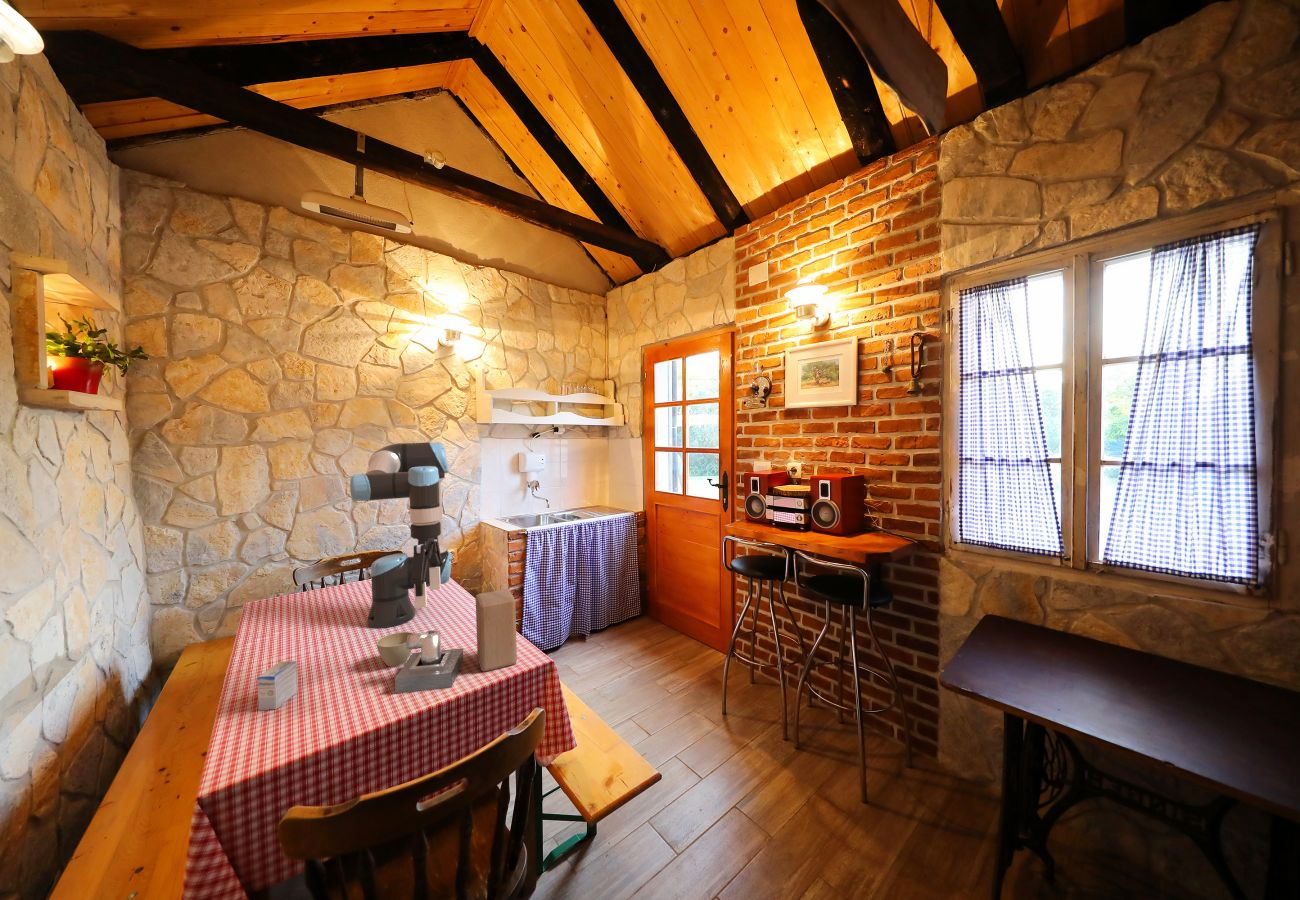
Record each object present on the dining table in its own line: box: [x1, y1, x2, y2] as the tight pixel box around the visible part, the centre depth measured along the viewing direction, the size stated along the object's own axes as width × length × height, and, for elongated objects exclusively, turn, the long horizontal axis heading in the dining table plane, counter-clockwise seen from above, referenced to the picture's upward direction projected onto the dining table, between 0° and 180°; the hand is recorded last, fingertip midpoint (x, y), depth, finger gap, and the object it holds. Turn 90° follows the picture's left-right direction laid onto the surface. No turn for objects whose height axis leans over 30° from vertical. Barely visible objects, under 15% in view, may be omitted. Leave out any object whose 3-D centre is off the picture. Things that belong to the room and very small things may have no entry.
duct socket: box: [394, 647, 464, 694], centre depth 129 cm, size 14×14×5 cm
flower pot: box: [376, 631, 415, 667], centre depth 137 cm, size 10×10×7 cm
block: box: [475, 588, 518, 672], centre depth 136 cm, size 10×10×20 cm
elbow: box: [406, 630, 442, 666], centre depth 129 cm, size 8×5×12 cm, turn 100°
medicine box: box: [256, 660, 299, 711], centre depth 118 cm, size 8×4×9 cm, turn 5°
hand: (428, 597), depth 128 cm, fingers open, 13 cm apart
